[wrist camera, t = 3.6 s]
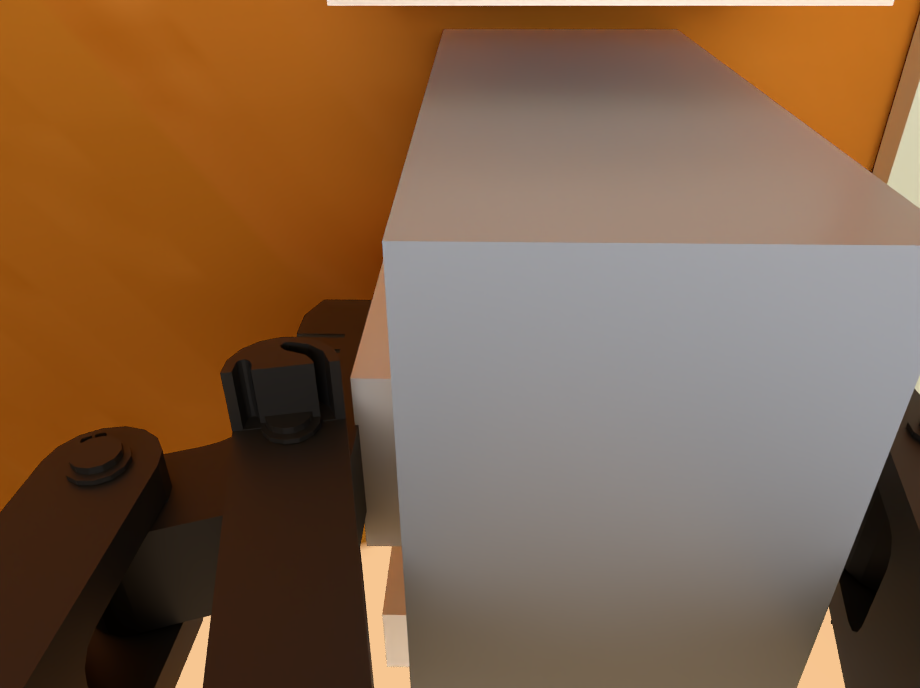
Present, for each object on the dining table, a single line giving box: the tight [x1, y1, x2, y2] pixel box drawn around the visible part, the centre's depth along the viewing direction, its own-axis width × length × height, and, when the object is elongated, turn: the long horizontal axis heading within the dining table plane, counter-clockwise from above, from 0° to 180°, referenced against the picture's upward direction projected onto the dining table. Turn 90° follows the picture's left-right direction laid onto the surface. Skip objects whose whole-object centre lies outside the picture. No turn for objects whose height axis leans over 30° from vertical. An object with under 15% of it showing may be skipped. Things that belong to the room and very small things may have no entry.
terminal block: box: [382, 29, 920, 688], centre depth 11 cm, size 4×8×9 cm, turn 0°
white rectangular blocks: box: [327, 0, 894, 667], centre depth 13 cm, size 6×13×5 cm, turn 0°
